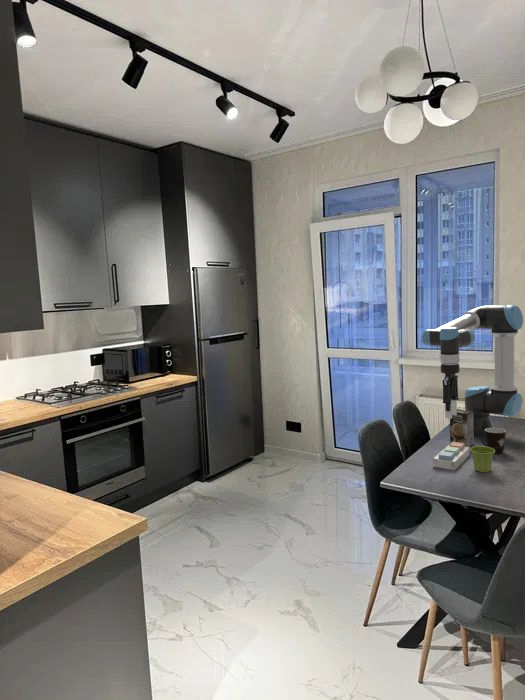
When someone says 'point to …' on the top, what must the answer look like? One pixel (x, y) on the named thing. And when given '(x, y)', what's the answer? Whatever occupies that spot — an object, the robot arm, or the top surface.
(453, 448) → the sage button
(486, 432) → the coffee mug
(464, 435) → the coffee box
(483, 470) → the plant pot
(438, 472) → the top surface
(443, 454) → the slate button
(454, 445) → the terracotta button
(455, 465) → the button panel
